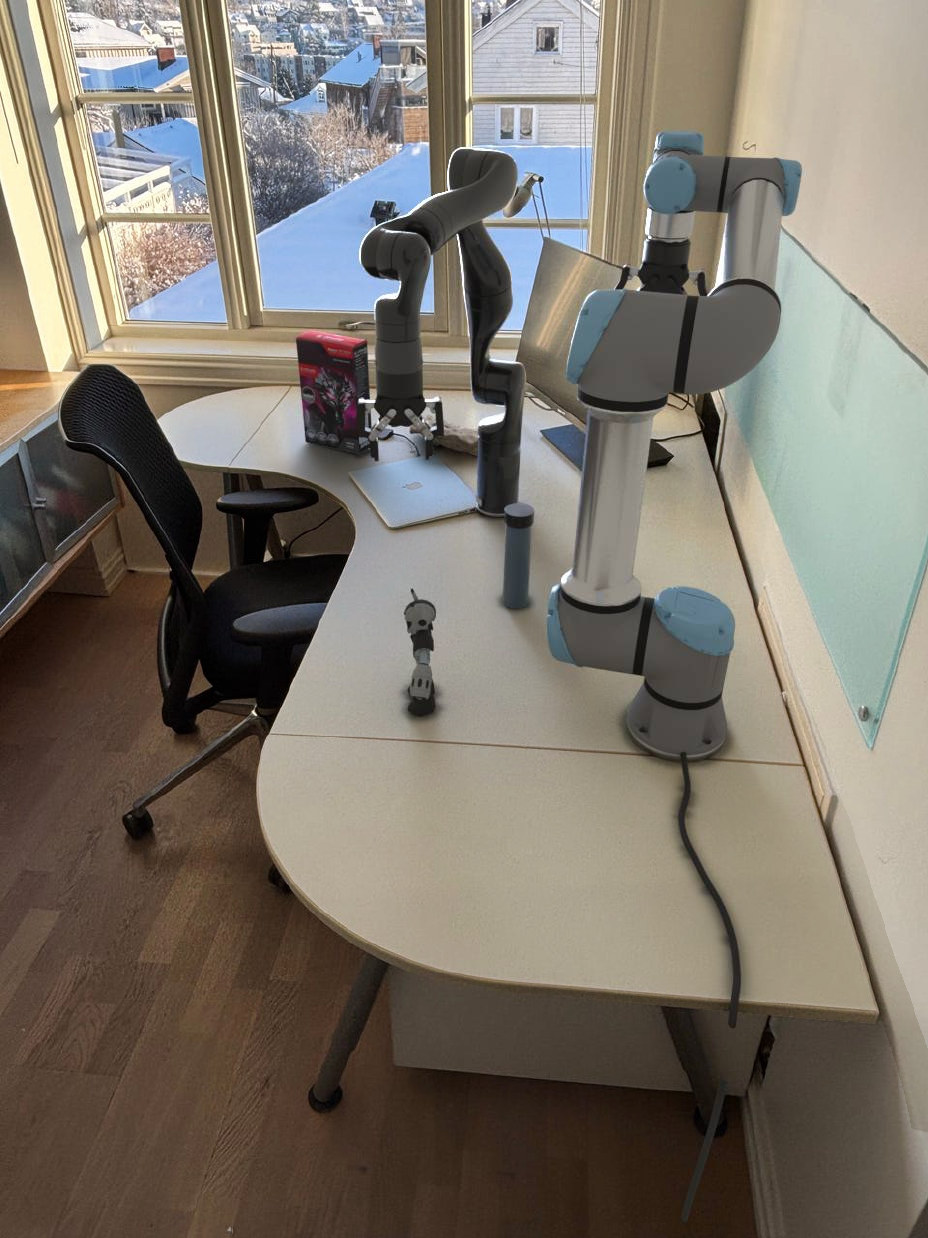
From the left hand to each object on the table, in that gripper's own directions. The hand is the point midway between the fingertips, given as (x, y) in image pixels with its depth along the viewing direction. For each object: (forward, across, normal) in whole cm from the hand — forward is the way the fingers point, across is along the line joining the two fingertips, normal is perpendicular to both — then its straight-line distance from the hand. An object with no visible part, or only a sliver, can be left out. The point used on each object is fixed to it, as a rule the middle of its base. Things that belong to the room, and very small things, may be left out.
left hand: (401, 458), depth 156 cm
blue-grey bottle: (+30, -20, 0) cm, 36 cm away
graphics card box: (+30, +16, -75) cm, 82 cm away
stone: (+30, -11, -74) cm, 81 cm away
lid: (+11, -20, 0) cm, 23 cm away
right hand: (-11, -45, -13) cm, 48 cm away
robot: (+30, -2, +28) cm, 41 cm away
